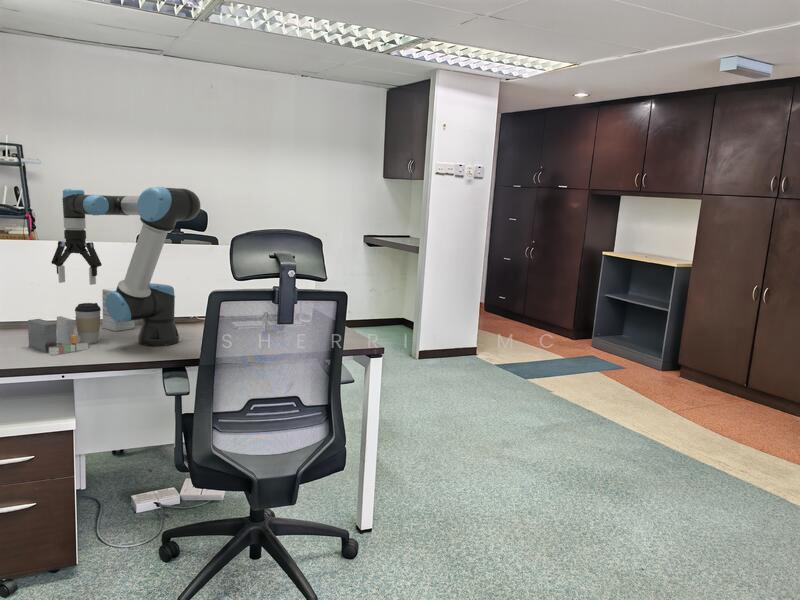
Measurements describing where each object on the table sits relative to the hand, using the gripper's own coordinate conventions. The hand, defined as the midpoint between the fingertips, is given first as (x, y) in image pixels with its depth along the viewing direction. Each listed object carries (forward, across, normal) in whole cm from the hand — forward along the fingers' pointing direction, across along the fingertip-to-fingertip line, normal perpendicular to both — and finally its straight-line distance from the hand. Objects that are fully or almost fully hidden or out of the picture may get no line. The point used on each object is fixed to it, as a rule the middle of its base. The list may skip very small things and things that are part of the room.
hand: (77, 283), depth 240 cm
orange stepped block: (+19, -13, +19) cm, 30 cm away
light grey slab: (+21, -7, +15) cm, 27 cm away
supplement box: (+21, -4, -18) cm, 29 cm away
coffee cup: (+22, -9, +6) cm, 24 cm away
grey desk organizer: (+21, -6, +19) cm, 29 cm away
